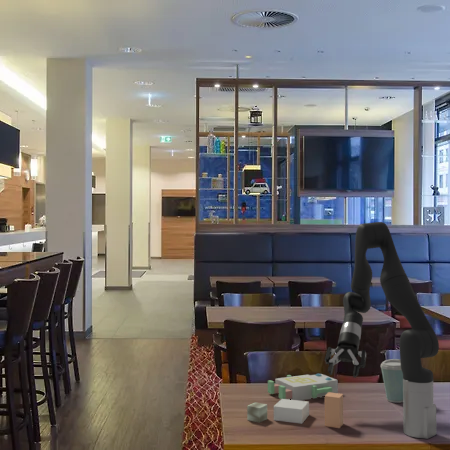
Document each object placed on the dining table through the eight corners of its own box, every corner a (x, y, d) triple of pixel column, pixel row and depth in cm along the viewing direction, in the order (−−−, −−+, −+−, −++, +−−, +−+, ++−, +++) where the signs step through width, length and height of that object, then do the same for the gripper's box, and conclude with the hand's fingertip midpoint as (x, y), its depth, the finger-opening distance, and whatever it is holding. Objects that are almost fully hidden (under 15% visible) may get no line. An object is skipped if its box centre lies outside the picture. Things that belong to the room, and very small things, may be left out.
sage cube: (267, 419, 200) (267, 404, 200) (259, 422, 196) (259, 408, 196) (255, 416, 203) (255, 402, 203) (247, 420, 199) (247, 405, 199)
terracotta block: (343, 423, 195) (343, 393, 195) (339, 428, 190) (339, 397, 190) (328, 421, 197) (328, 392, 197) (324, 426, 192) (324, 395, 192)
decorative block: (315, 370, 246) (344, 380, 227) (315, 385, 246) (344, 397, 227) (262, 376, 235) (288, 388, 217) (262, 392, 235) (288, 405, 217)
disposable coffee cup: (399, 406, 214) (399, 365, 214) (375, 400, 222) (374, 361, 222) (415, 400, 221) (414, 361, 221) (390, 395, 229) (390, 357, 229)
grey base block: (309, 415, 204) (309, 401, 204) (302, 424, 195) (301, 409, 195) (281, 412, 208) (281, 398, 208) (273, 420, 199) (273, 406, 199)
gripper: (329, 329, 215) (320, 367, 204) (367, 332, 209) (360, 371, 198) (332, 341, 219) (324, 378, 209) (370, 344, 213) (364, 383, 203)
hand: (342, 374), depth 204 cm, fingers open, 8 cm apart
